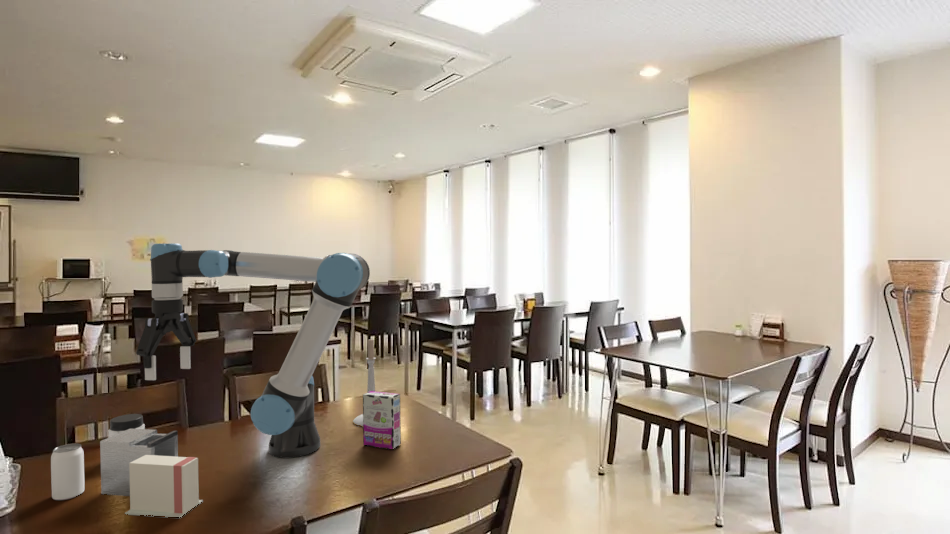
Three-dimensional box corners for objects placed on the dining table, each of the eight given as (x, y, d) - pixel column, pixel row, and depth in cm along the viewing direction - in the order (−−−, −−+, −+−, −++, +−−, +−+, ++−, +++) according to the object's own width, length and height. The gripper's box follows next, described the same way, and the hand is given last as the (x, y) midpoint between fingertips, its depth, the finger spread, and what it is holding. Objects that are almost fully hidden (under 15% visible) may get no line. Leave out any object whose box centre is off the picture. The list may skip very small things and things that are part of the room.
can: (63, 489, 132) (62, 443, 132) (90, 488, 133) (89, 442, 133) (45, 501, 126) (43, 453, 126) (73, 500, 126) (72, 452, 126)
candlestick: (384, 427, 178) (384, 341, 178) (348, 427, 179) (347, 341, 178) (392, 416, 191) (392, 335, 190) (359, 415, 192) (358, 335, 191)
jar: (108, 466, 147) (107, 424, 146) (109, 456, 154) (108, 417, 153) (145, 459, 152) (144, 418, 151) (145, 450, 158) (144, 411, 158)
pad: (203, 501, 126) (203, 499, 126) (180, 518, 118) (180, 516, 118) (150, 498, 127) (150, 496, 127) (124, 514, 120) (124, 512, 120)
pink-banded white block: (199, 502, 124) (198, 457, 124) (184, 513, 119) (183, 466, 119) (146, 499, 126) (145, 454, 126) (130, 509, 121) (129, 462, 121)
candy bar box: (401, 445, 162) (401, 393, 162) (393, 450, 158) (392, 397, 157) (371, 440, 166) (370, 390, 166) (362, 445, 162) (362, 393, 161)
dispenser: (101, 494, 130) (100, 441, 129) (131, 478, 139) (129, 428, 139) (151, 497, 128) (150, 443, 127) (178, 480, 137) (177, 430, 137)
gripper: (185, 294, 157) (187, 364, 157) (118, 302, 132) (120, 384, 133) (208, 295, 156) (209, 364, 156) (145, 302, 131) (147, 385, 132)
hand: (168, 374), depth 145 cm, fingers open, 13 cm apart
